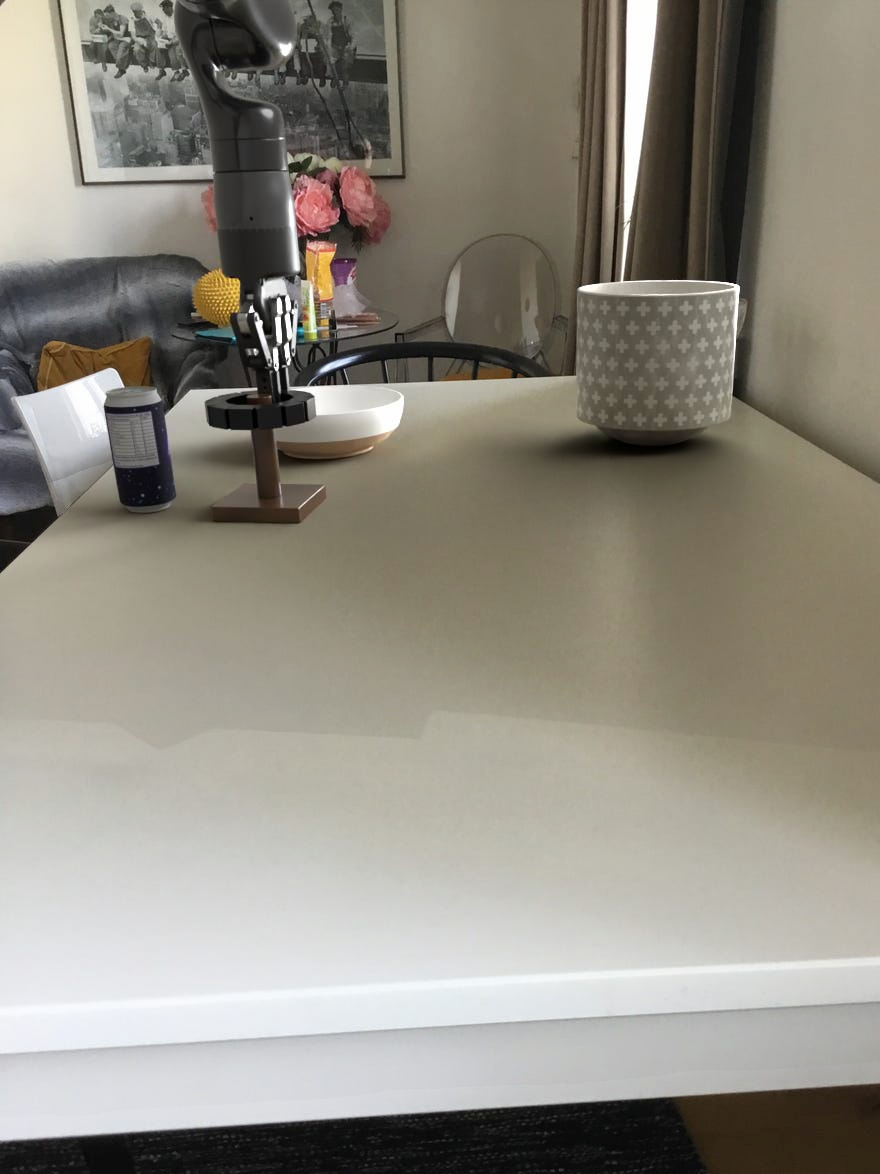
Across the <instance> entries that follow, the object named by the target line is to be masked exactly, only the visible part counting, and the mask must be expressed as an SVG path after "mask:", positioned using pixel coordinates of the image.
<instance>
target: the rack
mask: <svg viewBox="0 0 880 1174" xmlns="http://www.w3.org/2000/svg"><path fill="white" fill-rule="evenodd" d="M263 404H272V395H271V394H252V395H248V396H247V405H263ZM249 431H250V440H251V448H252V456H253V464H254V465H253V466H254V474H255V483H249V482H248V483H245V482H244V483H242V484H241V485H240V486H238V487H237V488H235V489H234V490H233V491H231V492H230V493H228V494H227V495H226V496H224V497H223V498H221V499H220V500H219V501H217V502H216V503H214V504H213V505H212V506H210V509H211V510H210V511H211V517H212V522H235V523H236V522H237V523H282V524H283V523H286V524H287V523H288V524H291V523H292V524H301V523H302V522H303V520H305V519H306V518H307V517H308V516H309V515H310V514H311V513H312V512H313V511H314V510H316V509H317V508H318V506H320V505H321V504H322V503H323V502H324V501H325V500H326V499H327V488H326V484H325V483H322V484H318V483H315V484H313V483H282V481H281V473H280V472H281V471H280V464H279V463H280V462H279V454H278V453H279V452H278V449H277V443H276V434H275V429H265V430H258V429H257V428H256V429H255V430H249Z"/></svg>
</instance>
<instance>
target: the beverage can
mask: <svg viewBox="0 0 880 1174" xmlns="http://www.w3.org/2000/svg"><path fill="white" fill-rule="evenodd" d="M105 396H106V397H105V400H104V403H103V412H104V417H105V424H106V429H107V435H108V441H109V448H110V453H111V459H112V464H113V471H114V477H115V482H116V488H117V495H118V500H119V503H120V504H121V505H122V506H124V507H125V508H127V509H128V511H130V512H132V513H140V514H142V513H145V514H146V513H147V514H148V513H154V512H159V511H163V510H166V509H168V508H170V507H171V504H172V502H173V501H174V500H175V499H176V498H177V491H176V484H175V476H174V470H173V469H174V468H173V464H172V457H171V450H170V443H169V442H170V441H169V436H168V429H167V428H168V427H167V423H166V416H165V408H164V402H163V399H162V398H161V397H160V394H158V390H157V388H156V387H155V386H147V385H146V386H145V385H137V386H124V387H117V388H112V389H108V390H107V391H105Z"/></svg>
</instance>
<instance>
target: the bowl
mask: <svg viewBox="0 0 880 1174" xmlns="http://www.w3.org/2000/svg"><path fill="white" fill-rule="evenodd" d="M292 390H298V391H305V392H310V393H311V394H312V395H314V397H315V408H316V417H315V418H313V419H312V420H310V421H309V422H305V423H302V424H298V425H293V426H289V427H286V426H283V428H275V434H276V443H277V450H278V451H281V452H283V453H284V454H285V455H287V456H288V457H292V458H295V459H305V460H331V459H341V458H342V459H343V458H349V457H353V456H359V455H361V454H365V453H368V452H370V451H371V450H372V449H373V448H374V446H375V445H377V444H379V443H381V442H383V441H385V440H386V439H387V438H389V437H390V435H391V434H392V433H393V432H394V431H395V430H396V428H397V427H399V425H400V421H401V418H402V415H403V411H404V395H403V394H402V393H401V392H399V391H397V390H393V389H390V388H384V387H378V386H377V387H375V386H366V385H365V386H364V385H363V386H361V385H335V386H334V385H330V386H329V385H327V386H314V387H303V388H294V389H292Z"/></svg>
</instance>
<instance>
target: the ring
mask: <svg viewBox="0 0 880 1174" xmlns="http://www.w3.org/2000/svg"><path fill="white" fill-rule="evenodd" d="M252 394H258V391H257V389H255V390H244V391H240V392H236V391H235V392H229V393H226V394H220V395H218V396H213V397H211V398H209V399H207V400H205V401H204V409H205V417H206V422H207V424H208V426H209V427H211V428H215V429H219V430H225V431H226V430H227V431H228V430H230V431H250V430H255V429H256V428H257V429H258V430H265V429H275V428H283V426H286V427H289V426H293V425H298V424H302V423H305V422H309V421H310V420H312V419H313V418H315V417H316V408H315V397H314V395H312V394H311V393H310V392H305V391H298V390H293V389H290V390H281V399H282V402H279V403H274V404H263V405H247V396H248V395H252Z"/></svg>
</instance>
